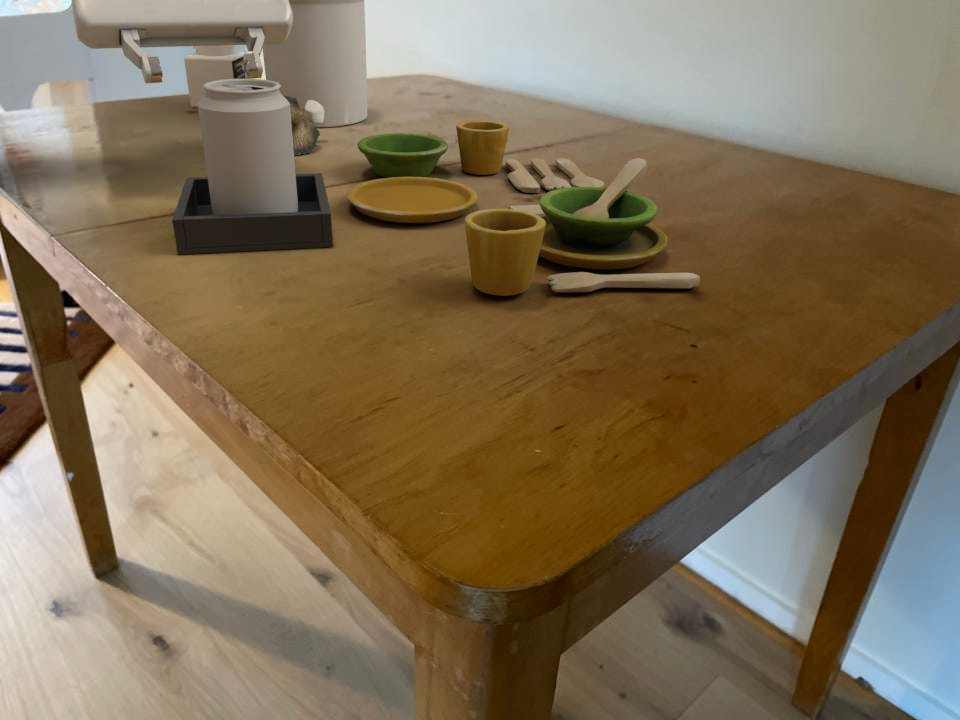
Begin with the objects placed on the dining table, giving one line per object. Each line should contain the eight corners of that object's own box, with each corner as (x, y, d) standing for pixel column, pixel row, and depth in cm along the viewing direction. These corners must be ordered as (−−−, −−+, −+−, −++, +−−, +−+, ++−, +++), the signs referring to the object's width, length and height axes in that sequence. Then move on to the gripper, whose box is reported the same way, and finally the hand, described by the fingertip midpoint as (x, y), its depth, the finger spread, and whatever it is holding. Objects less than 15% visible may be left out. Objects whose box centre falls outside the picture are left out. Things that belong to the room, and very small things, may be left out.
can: (315, 222, 71) (306, 84, 65) (243, 241, 66) (225, 93, 60) (268, 203, 75) (255, 72, 69) (197, 219, 70) (177, 80, 65)
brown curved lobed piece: (257, 128, 100) (244, 131, 91) (285, 80, 98) (274, 77, 90) (309, 162, 102) (301, 168, 93) (338, 115, 100) (332, 116, 92)
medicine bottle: (238, 109, 116) (228, 21, 110) (190, 107, 116) (177, 19, 110) (251, 100, 122) (242, 17, 116) (205, 98, 122) (194, 15, 116)
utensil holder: (322, 134, 104) (313, -12, 95) (243, 118, 110) (228, -19, 102) (391, 116, 115) (388, -15, 106) (315, 103, 121) (307, -22, 113)
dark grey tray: (177, 254, 64) (172, 219, 63) (190, 207, 75) (186, 177, 73) (332, 247, 67) (330, 213, 65) (324, 203, 78) (322, 173, 76)
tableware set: (715, 298, 60) (730, 219, 57) (350, 311, 56) (345, 226, 53) (575, 160, 96) (580, 107, 93) (345, 162, 91) (342, 106, 88)
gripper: (48, -73, 70) (85, 59, 67) (273, -64, 79) (313, 52, 77) (54, -21, 75) (88, 103, 72) (264, -18, 85) (301, 91, 82)
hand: (206, 77), depth 75 cm, fingers open, 8 cm apart
